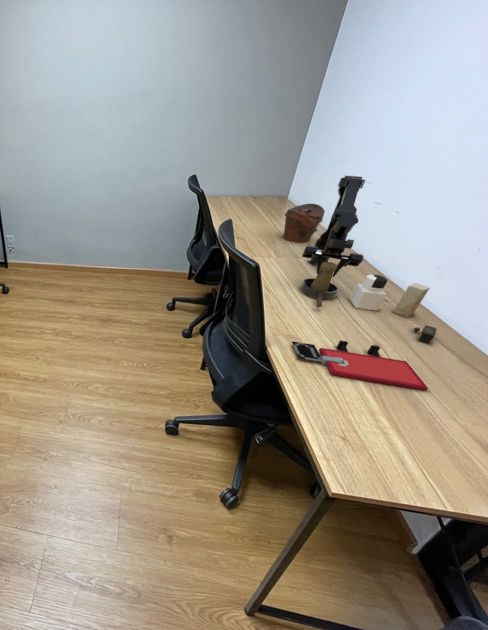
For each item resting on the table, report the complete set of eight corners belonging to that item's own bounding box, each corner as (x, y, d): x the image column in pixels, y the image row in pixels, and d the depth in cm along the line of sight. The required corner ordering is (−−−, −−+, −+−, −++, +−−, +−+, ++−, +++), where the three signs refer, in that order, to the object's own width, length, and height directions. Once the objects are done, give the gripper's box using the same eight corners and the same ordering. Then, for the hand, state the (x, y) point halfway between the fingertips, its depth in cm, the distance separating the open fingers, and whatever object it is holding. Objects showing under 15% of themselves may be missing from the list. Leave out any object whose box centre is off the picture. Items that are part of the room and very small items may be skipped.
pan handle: (316, 294, 133) (318, 290, 132) (321, 295, 132) (322, 291, 131) (315, 307, 124) (317, 303, 124) (320, 308, 124) (322, 304, 123)
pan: (300, 283, 145) (303, 276, 143) (334, 290, 139) (338, 282, 137) (299, 295, 136) (302, 287, 134) (335, 303, 131) (339, 295, 129)
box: (406, 317, 122) (423, 290, 116) (392, 312, 125) (408, 285, 119) (413, 313, 124) (430, 287, 118) (399, 308, 127) (415, 282, 121)
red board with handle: (288, 340, 110) (301, 370, 98) (291, 333, 109) (305, 363, 97) (397, 356, 104) (425, 391, 92) (402, 349, 102) (431, 384, 90)
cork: (330, 292, 134) (342, 266, 128) (313, 291, 135) (325, 265, 129) (324, 285, 139) (335, 260, 133) (308, 284, 140) (318, 259, 134)
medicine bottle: (370, 301, 131) (385, 273, 125) (377, 311, 126) (394, 282, 119) (348, 299, 133) (362, 271, 127) (354, 308, 128) (370, 279, 121)
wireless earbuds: (431, 335, 113) (437, 327, 111) (429, 344, 108) (434, 336, 107) (413, 329, 115) (418, 321, 114) (410, 338, 111) (415, 330, 110)
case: (279, 242, 186) (291, 209, 176) (276, 231, 202) (286, 200, 192) (317, 246, 180) (331, 213, 171) (310, 234, 196) (322, 203, 186)
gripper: (314, 225, 131) (302, 262, 129) (374, 234, 123) (362, 273, 121) (307, 239, 141) (296, 272, 139) (362, 247, 132) (351, 283, 131)
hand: (325, 275), depth 132 cm, fingers closed on cork, 5 cm apart
